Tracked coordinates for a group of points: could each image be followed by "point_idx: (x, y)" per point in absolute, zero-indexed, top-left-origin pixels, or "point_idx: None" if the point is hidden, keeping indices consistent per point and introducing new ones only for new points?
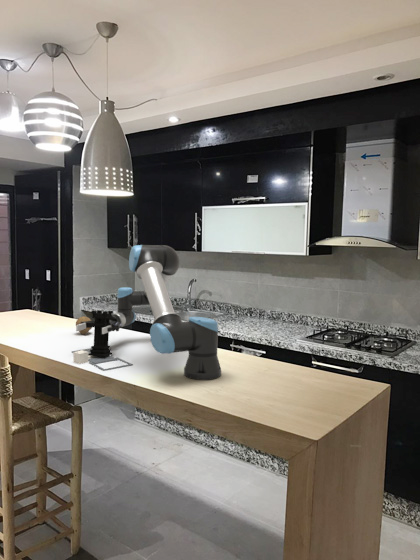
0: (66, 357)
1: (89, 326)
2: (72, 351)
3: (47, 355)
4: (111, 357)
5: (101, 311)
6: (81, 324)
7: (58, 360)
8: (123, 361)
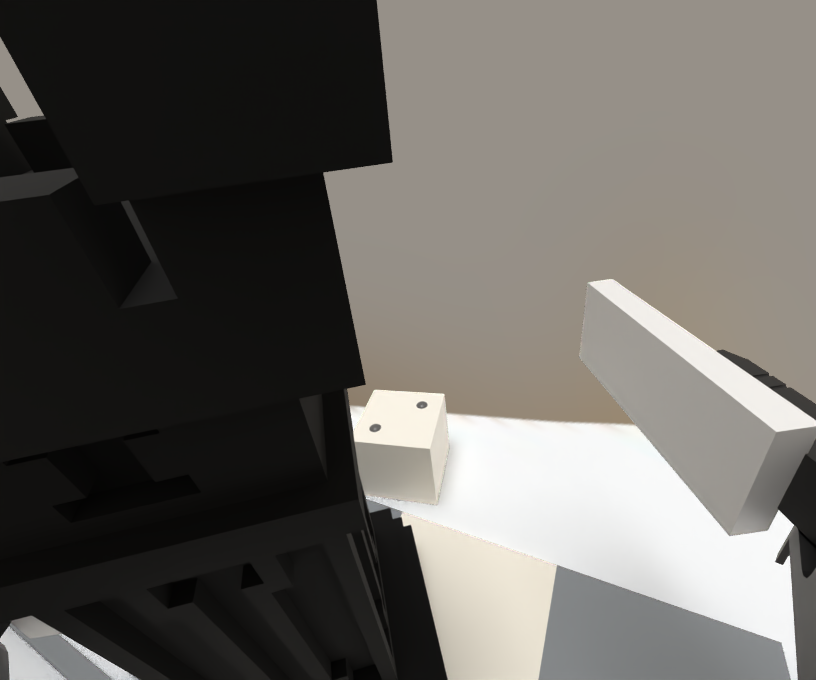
0: (592, 489)
1: (808, 634)
2: (763, 641)
3: None
4: None
5: (37, 29)
6: (646, 332)
7: (556, 424)
8: (59, 635)
